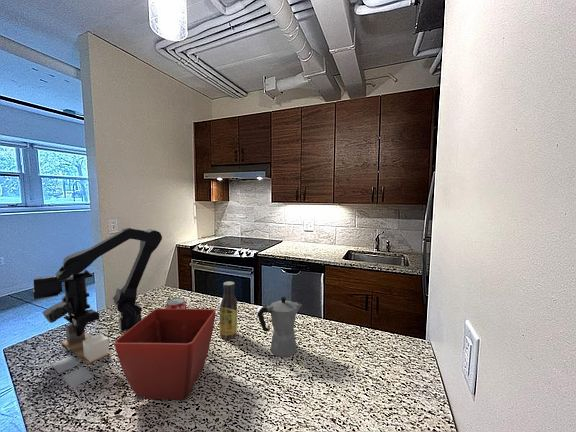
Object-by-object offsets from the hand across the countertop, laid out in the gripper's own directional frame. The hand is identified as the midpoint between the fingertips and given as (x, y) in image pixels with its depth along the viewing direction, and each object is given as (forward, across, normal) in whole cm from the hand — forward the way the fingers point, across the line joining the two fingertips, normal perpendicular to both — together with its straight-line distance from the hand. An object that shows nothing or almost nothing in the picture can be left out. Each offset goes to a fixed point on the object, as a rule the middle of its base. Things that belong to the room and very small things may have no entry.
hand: (79, 335), depth 89 cm
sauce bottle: (+3, +39, +32) cm, 51 cm away
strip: (+3, +6, 0) cm, 7 cm away
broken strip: (+3, +16, -7) cm, 18 cm away
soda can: (+3, +23, +22) cm, 32 cm away
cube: (+2, +14, 0) cm, 14 cm away
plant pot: (+3, +44, +7) cm, 44 cm away
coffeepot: (+3, +60, +36) cm, 70 cm away
